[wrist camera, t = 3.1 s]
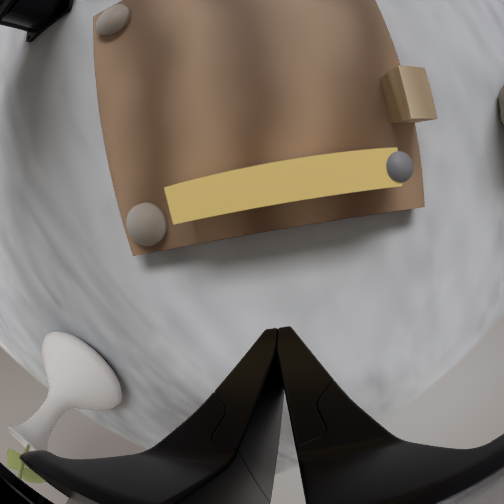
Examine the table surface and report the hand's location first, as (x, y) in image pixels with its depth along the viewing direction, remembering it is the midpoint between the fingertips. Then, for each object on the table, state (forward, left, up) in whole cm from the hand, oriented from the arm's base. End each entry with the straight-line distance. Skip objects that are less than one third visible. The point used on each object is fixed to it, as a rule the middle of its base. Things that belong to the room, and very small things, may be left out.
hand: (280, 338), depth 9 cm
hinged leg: (+1, +4, -8) cm, 10 cm away
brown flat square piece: (0, +11, -10) cm, 15 cm away
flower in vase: (-23, -11, -10) cm, 27 cm away
